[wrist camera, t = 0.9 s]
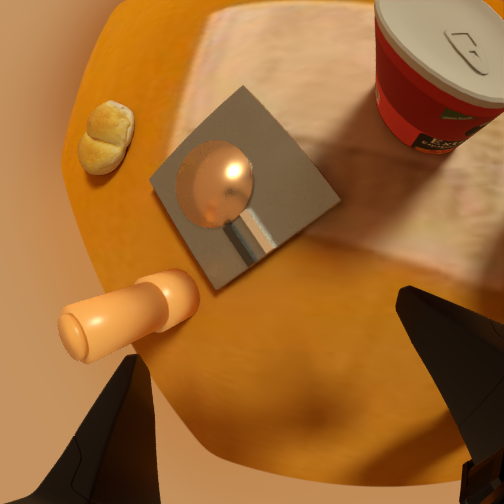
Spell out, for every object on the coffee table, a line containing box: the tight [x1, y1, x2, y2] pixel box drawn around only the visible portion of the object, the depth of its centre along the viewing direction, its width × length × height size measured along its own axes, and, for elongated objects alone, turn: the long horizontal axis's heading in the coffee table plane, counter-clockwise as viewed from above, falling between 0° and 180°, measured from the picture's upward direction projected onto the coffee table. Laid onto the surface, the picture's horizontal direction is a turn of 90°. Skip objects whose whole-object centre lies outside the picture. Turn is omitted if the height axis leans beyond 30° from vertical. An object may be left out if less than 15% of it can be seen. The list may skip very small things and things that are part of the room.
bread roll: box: [78, 100, 135, 175], centre depth 26 cm, size 8×9×4 cm
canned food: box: [374, 0, 504, 154], centre depth 10 cm, size 8×8×11 cm
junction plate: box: [149, 86, 342, 290], centre depth 21 cm, size 12×12×2 cm
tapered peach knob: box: [58, 269, 199, 364], centre depth 20 cm, size 5×5×13 cm
